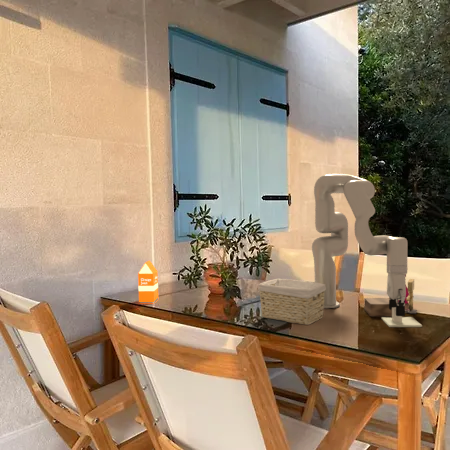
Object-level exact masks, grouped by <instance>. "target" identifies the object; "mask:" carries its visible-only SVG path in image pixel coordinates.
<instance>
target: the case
mask: <svg viewBox="0 0 450 450" xmlns="http://www.w3.org/2000/svg"><path fill="white" fill-rule="evenodd" d="M389 300H391V299H389V297H364V300H363V301H364V304H363V305H364V307H363V310H364V311H365V312H366V313H367V315H369V317H392V310H390V309H389Z"/></svg>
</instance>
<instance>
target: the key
mask: <svg viewBox="0 0 450 450" xmlns="http://www.w3.org/2000/svg"><path fill="white" fill-rule="evenodd" d="M407 288H408V292H409V295H408V297H407V301H408V309H409V310H413V309H414V290H415V279H414V278H410V279H409V280H408V281H407Z"/></svg>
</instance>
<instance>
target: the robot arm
mask: <svg viewBox="0 0 450 450" xmlns="http://www.w3.org/2000/svg"><path fill="white" fill-rule="evenodd" d="M375 193H376V188H375V186H374V184H373V183H372V182H371V181H369V180H367V179H365V178H361V177H358V176H355V175H351V174H347V173H346V174H345V173H344V174H343V173H340V174H339V173H332V174H331V173H328V174H323V175H322V176H320V177H318V178H317V179H316V181H315V184H314V186H313V195H314V200H315V201H314V202H315V203H314V205H315V206H314V208H315V209H314V210H315V213H314V214H315V215H314V217H315V218H314V219H315V220H314V221H315V222H314V224H315V230H316V231H317V232H318V233H320V234H330V235H329V236H328V235H326V236H319V237H317V238H316V239H314V240H313V242H312V243H311V244H312V245H311V252H312V257H313V265H314V266H313V269H314V282H315V283H321V284H325V287H326V290H325V293H324V308H323V309H337V308H339V307H340V305H341V304H340V302H338V301H337V269H336V264H335V260H334V258H333V257H339V256H343V255H344V254H346V252H347V251H348V248H349V222H348V218H347V216H346V215H345V214H344V213H342V212H340V211H335V210H336V209H335V208H336V207H335V200H334V198H333V196H332V194H343V195H344V197H345V199H346V201H347V203H348V205H349V207H350V209H351V211H352V214H353V215H354V218H355V220H354V235H355V236H354V237H355V238H356V241H357V243H358V245H359V248H360V249H361V250H362V251H363V253H364V254H365V255H367V256H378V255H386V273H387V277H386V278H387V281H386V295H387V296H388V298H389V299H391V300H389V309H390V310H392V307H396V316H402V317H406V312H405V310H406V304H405V297H406V286H407V283H406V282H407V281H406V277H405V274H406V275H407V274H408V240H407V238H405V237H403V236H402V237H401V236H399V237H398V236H390V235H384V234H383V235H373V233H372V232H371V229H370V226H369V220H370V218H371V217H373V216H374V214H376V208H375V207H374V204H373V202H372V200H371V199H372V198H373V197H374V195H375ZM398 300H399V302H398Z"/></svg>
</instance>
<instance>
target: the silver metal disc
mask: <svg viewBox="0 0 450 450" xmlns="http://www.w3.org/2000/svg"><path fill="white" fill-rule="evenodd" d="M417 312H418V311H417V309H414V308H413V310H409V308H407V309H406V308H405V314H409V315H416V314H417Z"/></svg>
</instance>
